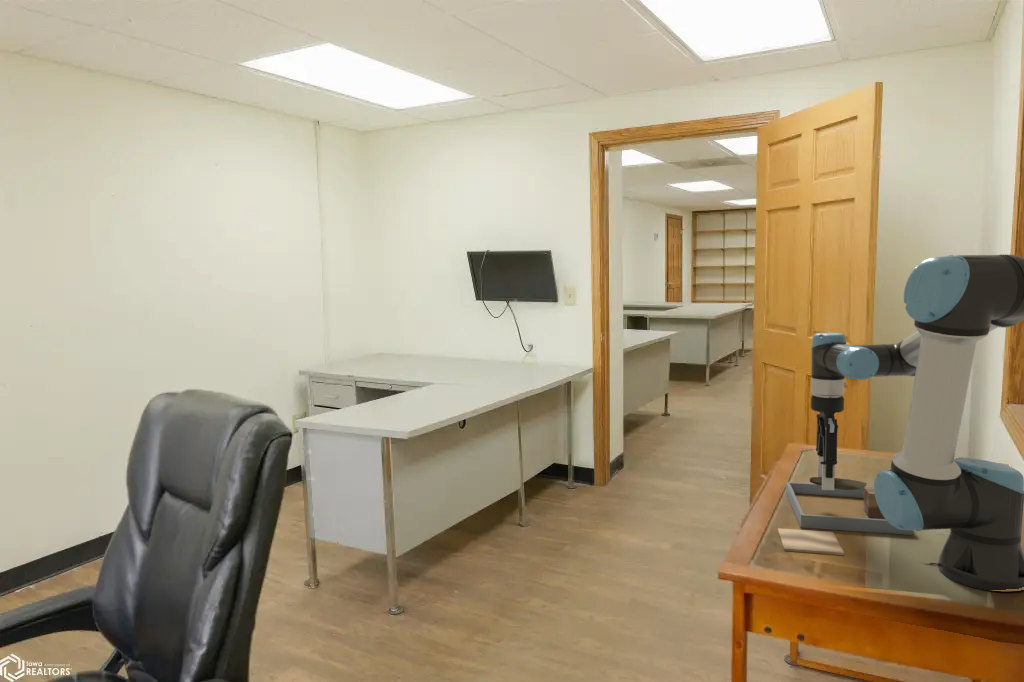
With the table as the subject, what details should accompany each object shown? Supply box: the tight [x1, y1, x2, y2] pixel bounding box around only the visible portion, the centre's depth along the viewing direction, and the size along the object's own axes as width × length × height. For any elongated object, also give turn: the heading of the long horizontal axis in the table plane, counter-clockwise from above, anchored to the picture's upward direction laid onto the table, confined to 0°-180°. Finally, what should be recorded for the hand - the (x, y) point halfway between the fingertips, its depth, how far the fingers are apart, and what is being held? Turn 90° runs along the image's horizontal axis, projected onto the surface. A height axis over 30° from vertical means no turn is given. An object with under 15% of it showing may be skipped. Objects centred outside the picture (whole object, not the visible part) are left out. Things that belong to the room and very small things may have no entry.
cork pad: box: [777, 527, 845, 556], centre depth 154 cm, size 12×12×1 cm
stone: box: [809, 476, 867, 490], centre depth 170 cm, size 13×5×2 cm, turn 57°
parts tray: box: [785, 481, 914, 536], centre depth 172 cm, size 26×24×3 cm
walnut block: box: [862, 487, 885, 519], centre depth 170 cm, size 5×5×6 cm
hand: (825, 485), depth 172 cm, fingers closed on stone, 6 cm apart
